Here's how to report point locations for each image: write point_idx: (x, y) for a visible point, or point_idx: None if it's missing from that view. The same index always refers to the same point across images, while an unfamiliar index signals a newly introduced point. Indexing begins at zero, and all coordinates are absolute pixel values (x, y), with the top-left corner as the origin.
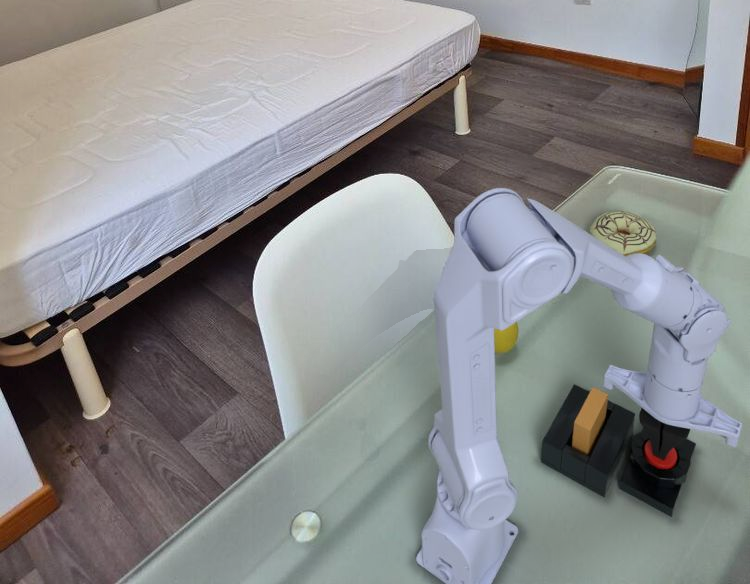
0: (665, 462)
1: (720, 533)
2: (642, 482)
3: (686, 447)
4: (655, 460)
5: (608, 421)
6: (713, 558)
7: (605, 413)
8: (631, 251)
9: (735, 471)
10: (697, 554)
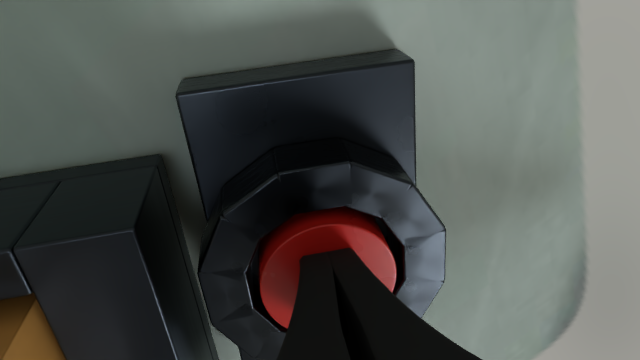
0: None
1: (533, 268)
2: None
3: (386, 112)
4: None
5: (67, 352)
6: (525, 331)
7: (22, 341)
8: None
9: (555, 29)
10: (488, 348)
